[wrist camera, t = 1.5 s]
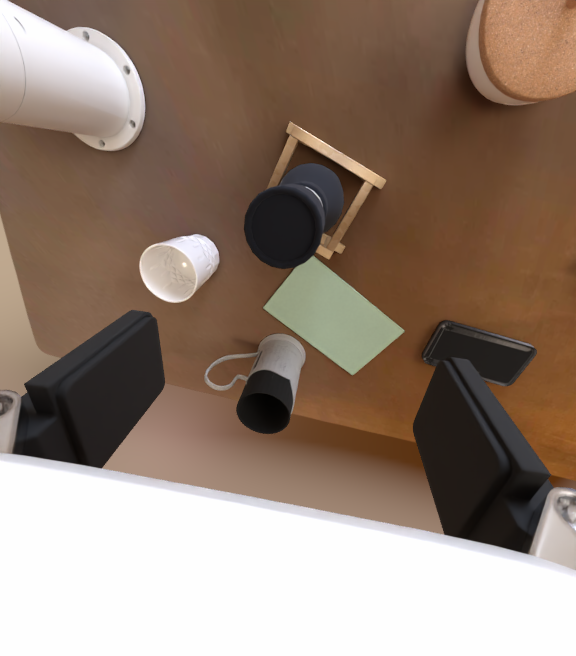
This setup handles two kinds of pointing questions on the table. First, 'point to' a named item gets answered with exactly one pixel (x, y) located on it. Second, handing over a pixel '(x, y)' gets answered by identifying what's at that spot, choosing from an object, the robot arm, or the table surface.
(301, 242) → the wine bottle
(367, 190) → the bottle stand
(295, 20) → the table surface
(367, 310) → the mat
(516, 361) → the phone
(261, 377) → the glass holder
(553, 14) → the lidded bowl
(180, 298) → the white cup
